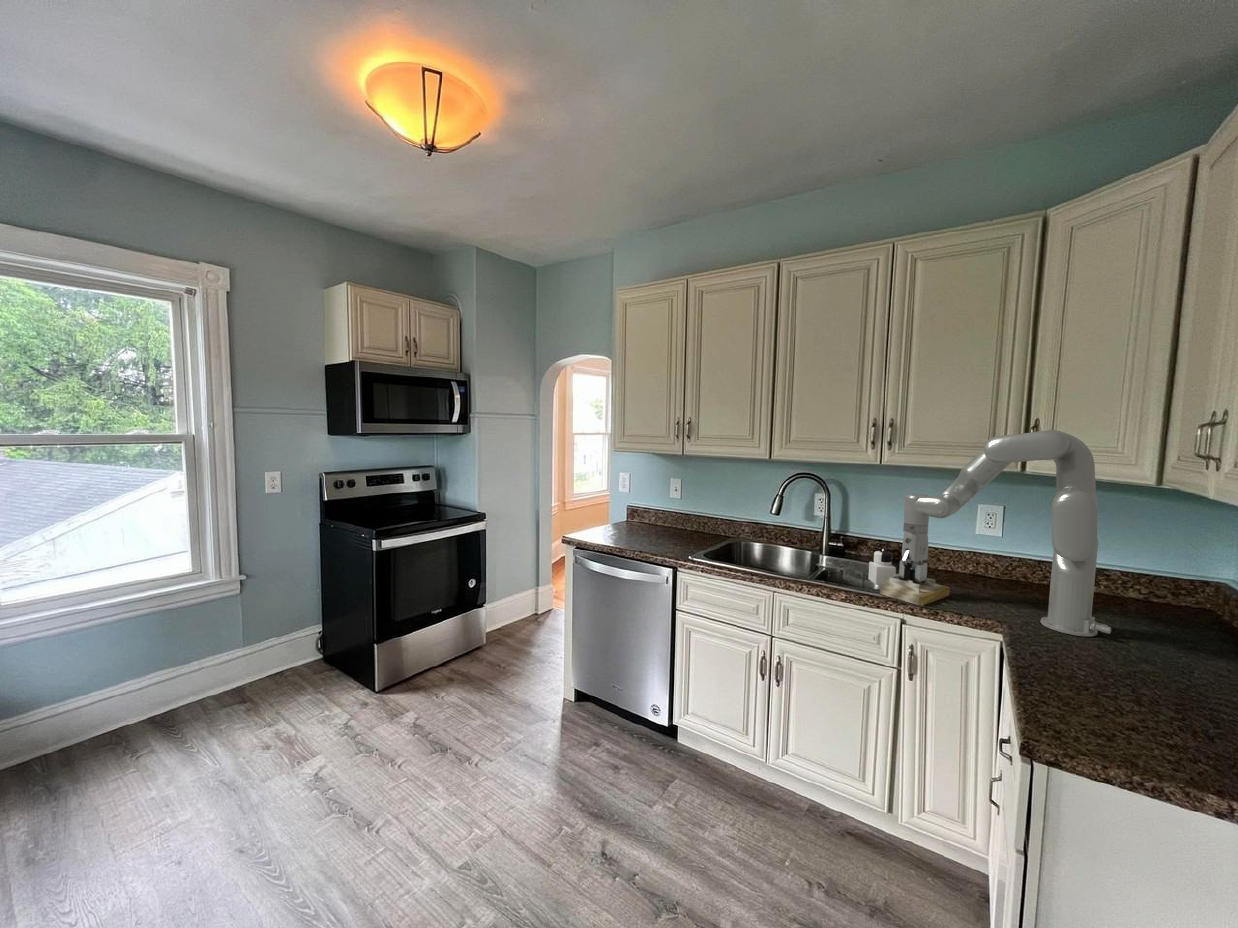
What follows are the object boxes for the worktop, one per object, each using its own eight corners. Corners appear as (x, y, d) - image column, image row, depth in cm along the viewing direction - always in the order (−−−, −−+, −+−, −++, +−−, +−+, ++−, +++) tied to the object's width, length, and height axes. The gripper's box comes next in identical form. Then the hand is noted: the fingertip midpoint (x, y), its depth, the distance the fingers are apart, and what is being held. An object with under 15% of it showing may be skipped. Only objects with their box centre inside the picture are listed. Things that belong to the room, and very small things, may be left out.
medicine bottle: (886, 580, 194) (888, 550, 193) (895, 585, 187) (897, 554, 186) (868, 579, 194) (869, 549, 193) (875, 584, 187) (877, 553, 186)
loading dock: (949, 595, 176) (950, 580, 176) (922, 605, 165) (923, 589, 165) (908, 584, 188) (908, 570, 188) (880, 593, 177) (880, 578, 176)
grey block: (926, 583, 176) (927, 563, 175) (919, 585, 173) (920, 565, 172) (905, 578, 181) (906, 558, 181) (898, 580, 179) (899, 560, 178)
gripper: (914, 532, 168) (911, 585, 169) (938, 527, 177) (935, 577, 179) (892, 529, 174) (889, 579, 175) (916, 524, 184) (913, 572, 185)
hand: (912, 578), depth 177 cm, fingers closed on grey block, 5 cm apart
